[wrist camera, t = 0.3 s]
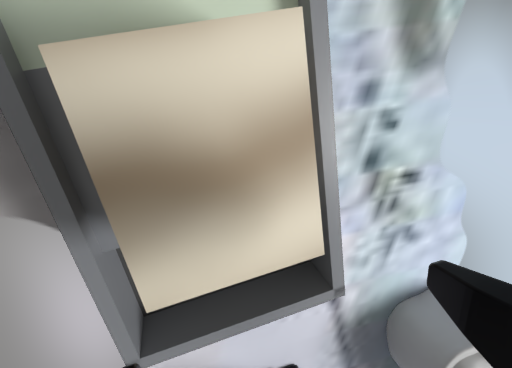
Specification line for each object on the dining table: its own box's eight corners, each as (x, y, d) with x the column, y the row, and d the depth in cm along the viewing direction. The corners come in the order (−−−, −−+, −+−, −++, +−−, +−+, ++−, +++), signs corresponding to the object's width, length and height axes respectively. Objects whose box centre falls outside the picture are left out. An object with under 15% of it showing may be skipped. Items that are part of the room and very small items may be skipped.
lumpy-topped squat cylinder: (457, 272, 35) (542, 329, 27) (460, 343, 40) (531, 408, 32) (381, 311, 33) (447, 384, 26) (394, 380, 39) (452, 458, 31)
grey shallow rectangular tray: (319, 263, 28) (345, 295, 24) (135, 325, 25) (129, 373, 21) (252, -402, 14) (289, -601, 10) (-210, -467, 10) (-449, -813, 6)
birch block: (269, 192, 21) (324, 254, 14) (153, 223, 19) (146, 313, 12) (244, 35, 17) (302, 6, 10) (97, 58, 15) (37, 45, 8)
